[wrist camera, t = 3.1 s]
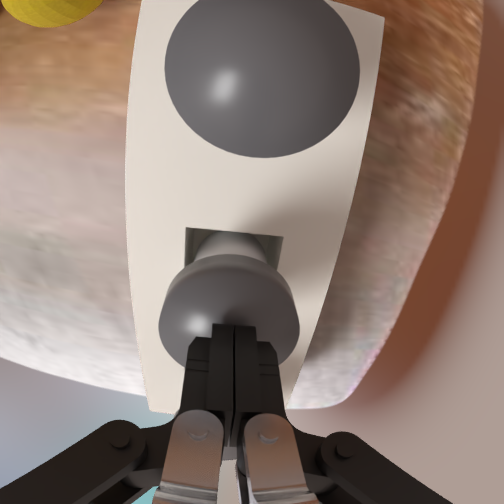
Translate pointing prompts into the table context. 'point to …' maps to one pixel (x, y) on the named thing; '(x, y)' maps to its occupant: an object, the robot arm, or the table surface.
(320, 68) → the knob
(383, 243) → the table surface
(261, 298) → the knob middle
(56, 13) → the lemon
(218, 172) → the knob panel
